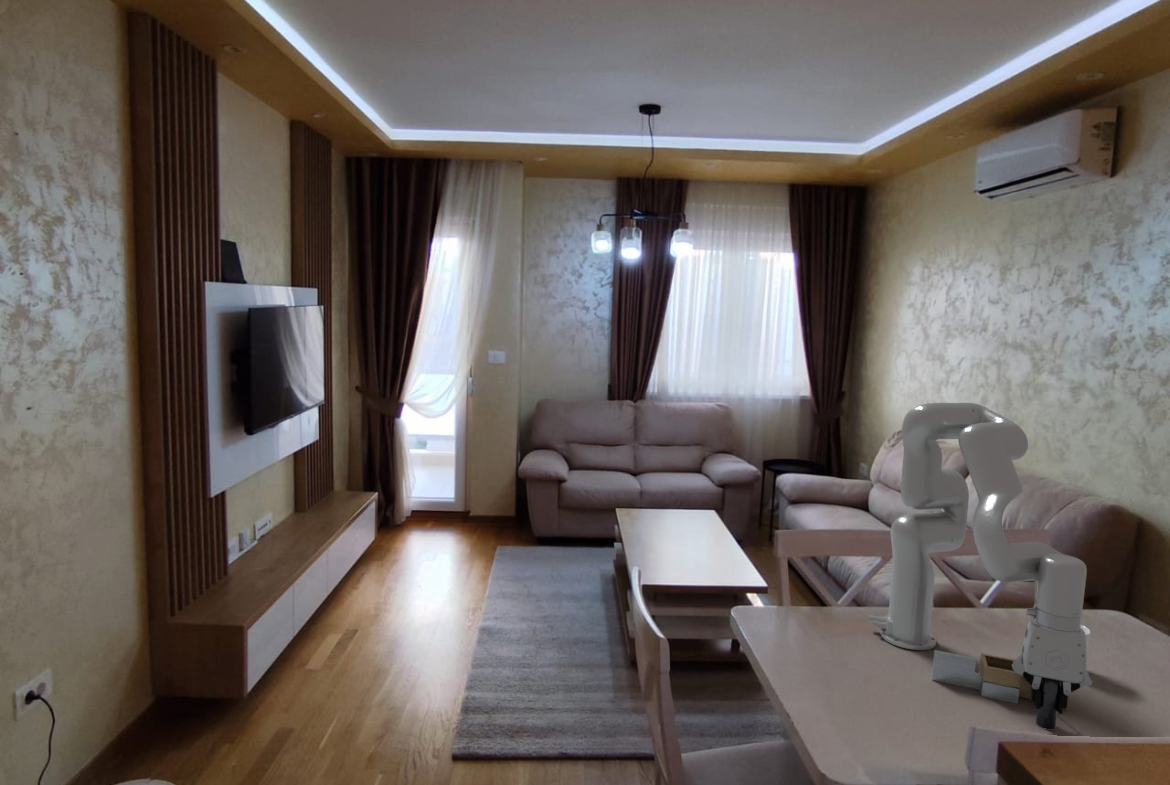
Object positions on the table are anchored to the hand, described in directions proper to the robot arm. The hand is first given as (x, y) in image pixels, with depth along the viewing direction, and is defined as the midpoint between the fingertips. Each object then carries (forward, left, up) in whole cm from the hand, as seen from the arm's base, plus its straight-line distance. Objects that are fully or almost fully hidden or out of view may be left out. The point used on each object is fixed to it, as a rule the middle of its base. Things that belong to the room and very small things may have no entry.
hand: (1047, 707), depth 139 cm
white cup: (+9, +29, -4) cm, 31 cm away
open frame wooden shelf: (-3, +10, -4) cm, 11 cm away
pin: (0, 0, -4) cm, 4 cm away
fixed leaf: (-12, +10, -4) cm, 16 cm away
